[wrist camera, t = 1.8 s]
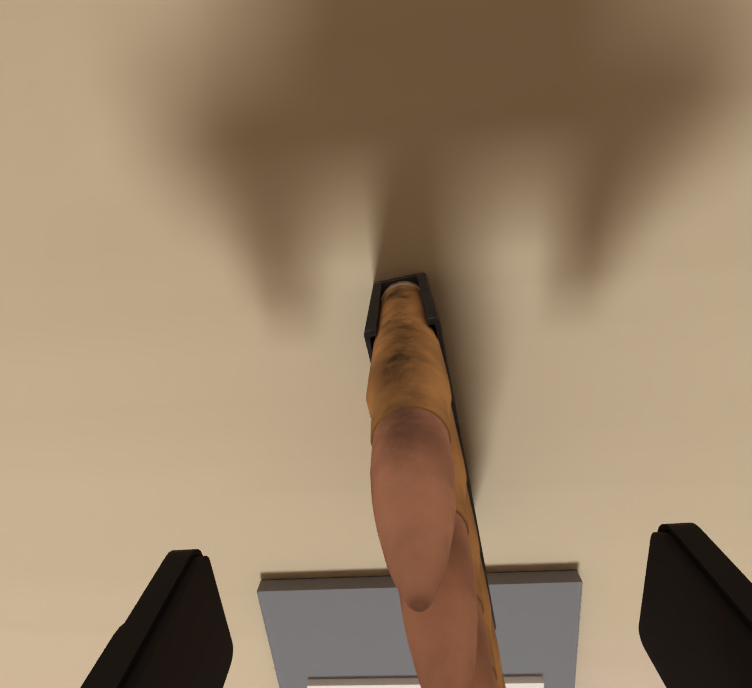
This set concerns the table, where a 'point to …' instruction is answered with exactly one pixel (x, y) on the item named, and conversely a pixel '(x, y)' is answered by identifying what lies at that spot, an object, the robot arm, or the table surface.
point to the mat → (388, 637)
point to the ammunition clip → (426, 492)
